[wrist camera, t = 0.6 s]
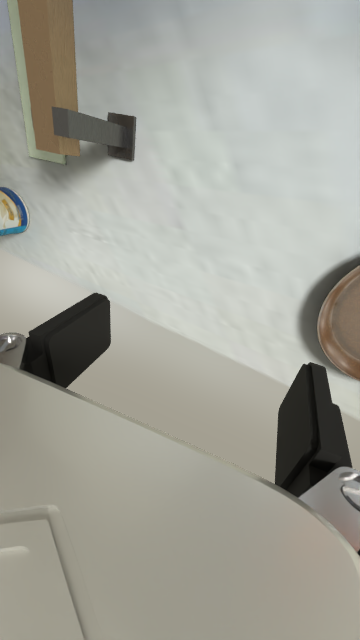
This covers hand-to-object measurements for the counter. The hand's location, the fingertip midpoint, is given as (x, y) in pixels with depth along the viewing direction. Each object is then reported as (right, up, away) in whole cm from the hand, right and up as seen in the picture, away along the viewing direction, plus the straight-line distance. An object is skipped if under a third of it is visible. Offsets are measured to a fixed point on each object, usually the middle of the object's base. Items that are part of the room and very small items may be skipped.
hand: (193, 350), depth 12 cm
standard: (-11, +29, +25) cm, 39 cm away
